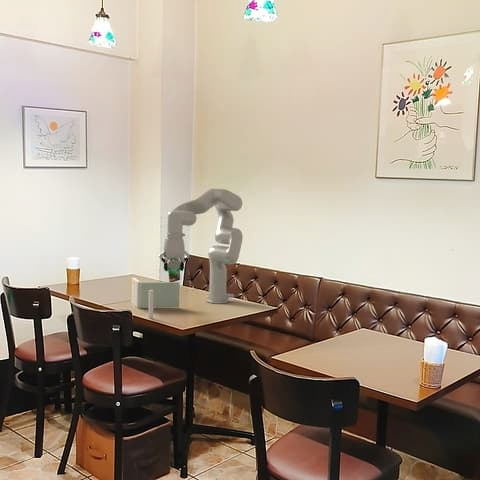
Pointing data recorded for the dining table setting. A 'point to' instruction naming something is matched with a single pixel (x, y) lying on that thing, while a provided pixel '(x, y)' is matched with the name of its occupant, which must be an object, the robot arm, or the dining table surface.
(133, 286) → the door frame
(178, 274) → the food container
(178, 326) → the dining table surface
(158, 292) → the door
